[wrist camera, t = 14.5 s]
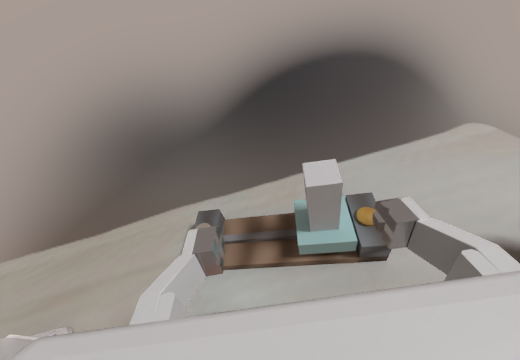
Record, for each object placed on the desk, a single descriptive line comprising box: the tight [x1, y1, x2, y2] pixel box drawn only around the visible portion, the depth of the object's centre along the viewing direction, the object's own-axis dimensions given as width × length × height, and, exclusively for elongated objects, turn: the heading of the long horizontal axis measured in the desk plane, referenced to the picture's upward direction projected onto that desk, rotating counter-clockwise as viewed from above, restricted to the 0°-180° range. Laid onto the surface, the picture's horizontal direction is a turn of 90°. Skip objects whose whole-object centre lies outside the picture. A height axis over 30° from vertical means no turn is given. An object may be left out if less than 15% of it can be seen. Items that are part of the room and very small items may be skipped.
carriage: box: [294, 159, 358, 255], centre depth 31 cm, size 8×8×13 cm
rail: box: [194, 193, 391, 270], centre depth 36 cm, size 30×9×6 cm, turn 88°
